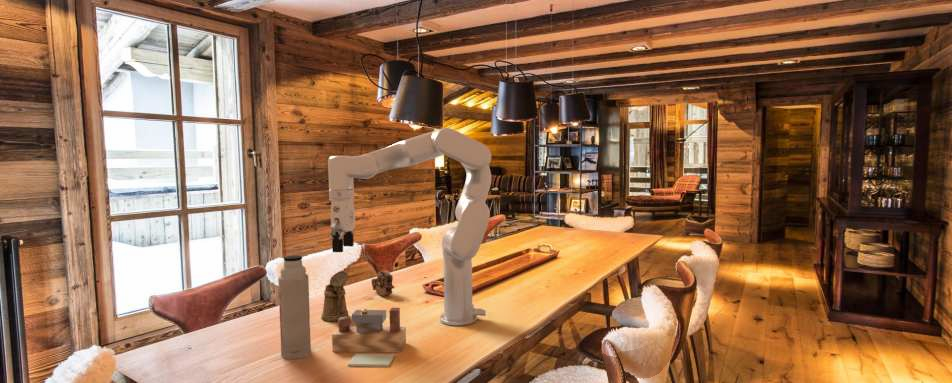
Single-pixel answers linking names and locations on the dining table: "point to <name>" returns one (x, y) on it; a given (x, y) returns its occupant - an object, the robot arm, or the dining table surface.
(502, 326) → the dining table surface
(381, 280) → the wooden carving
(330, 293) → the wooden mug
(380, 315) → the lever cap
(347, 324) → the body
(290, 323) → the thermos bottle
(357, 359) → the felt mat
